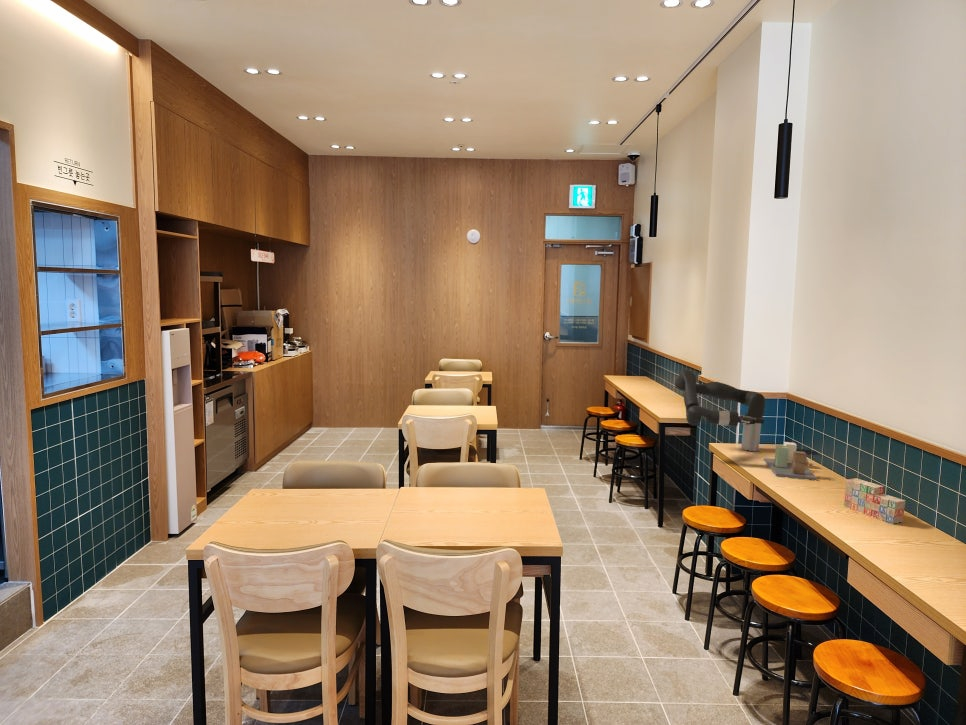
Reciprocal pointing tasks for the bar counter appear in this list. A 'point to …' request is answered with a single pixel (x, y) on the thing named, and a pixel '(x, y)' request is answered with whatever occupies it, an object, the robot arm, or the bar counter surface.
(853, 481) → the stack of blocks
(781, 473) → the rail board
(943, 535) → the bar counter surface
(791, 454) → the cream block
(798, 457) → the brown block
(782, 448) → the pale green block
